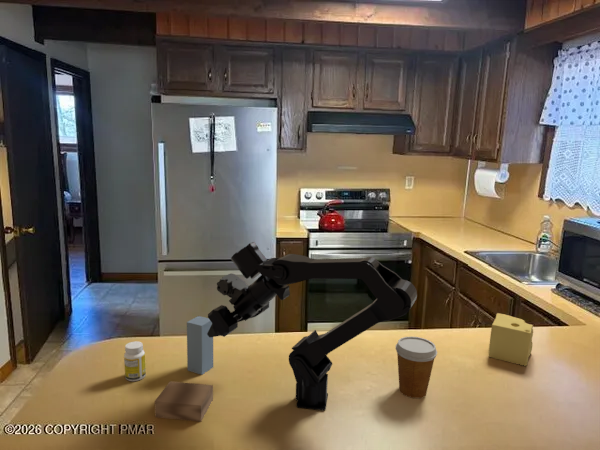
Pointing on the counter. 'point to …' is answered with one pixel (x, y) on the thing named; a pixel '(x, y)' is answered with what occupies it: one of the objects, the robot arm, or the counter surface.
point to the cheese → (510, 339)
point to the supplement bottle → (134, 361)
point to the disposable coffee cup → (415, 365)
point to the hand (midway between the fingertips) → (220, 328)
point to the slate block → (199, 345)
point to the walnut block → (184, 401)
